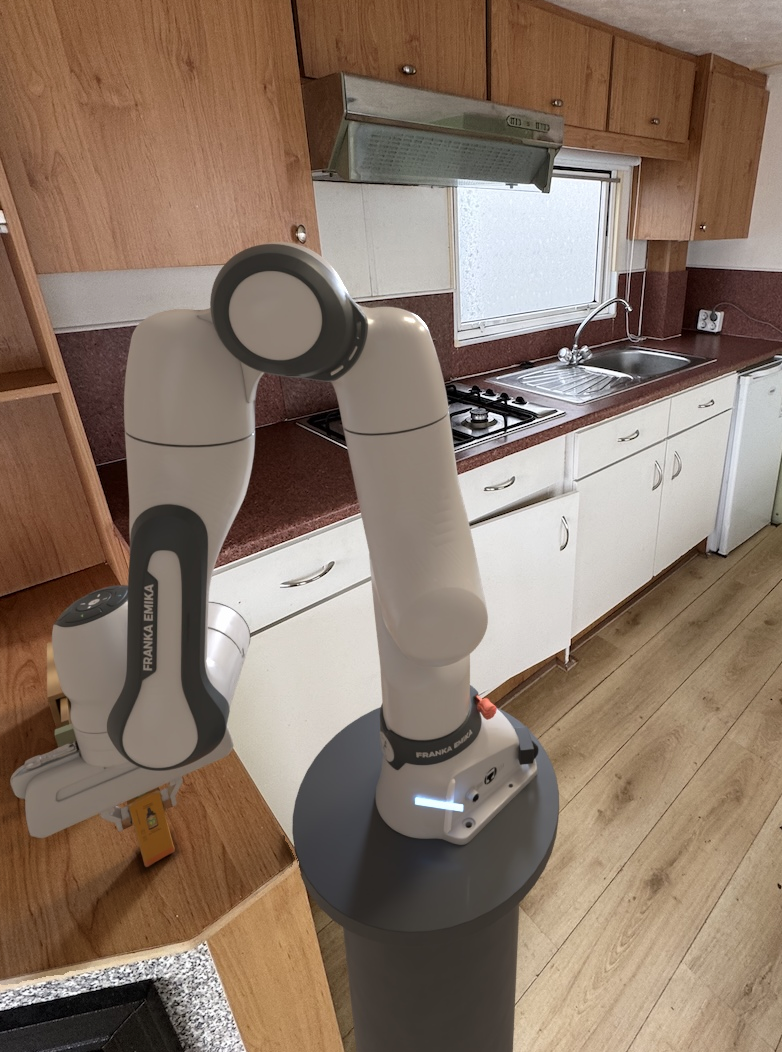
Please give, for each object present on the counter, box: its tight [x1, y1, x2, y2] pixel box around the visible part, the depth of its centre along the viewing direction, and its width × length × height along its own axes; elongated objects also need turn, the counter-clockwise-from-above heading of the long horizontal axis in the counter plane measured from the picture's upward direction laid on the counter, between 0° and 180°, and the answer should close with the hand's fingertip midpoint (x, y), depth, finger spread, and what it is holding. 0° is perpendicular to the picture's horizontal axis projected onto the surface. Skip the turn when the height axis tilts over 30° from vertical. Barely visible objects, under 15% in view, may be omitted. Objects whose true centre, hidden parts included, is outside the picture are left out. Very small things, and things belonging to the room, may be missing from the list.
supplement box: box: [126, 786, 176, 868], centre depth 69 cm, size 3×3×10 cm
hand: (148, 814), depth 69 cm, fingers closed on supplement box, 3 cm apart
